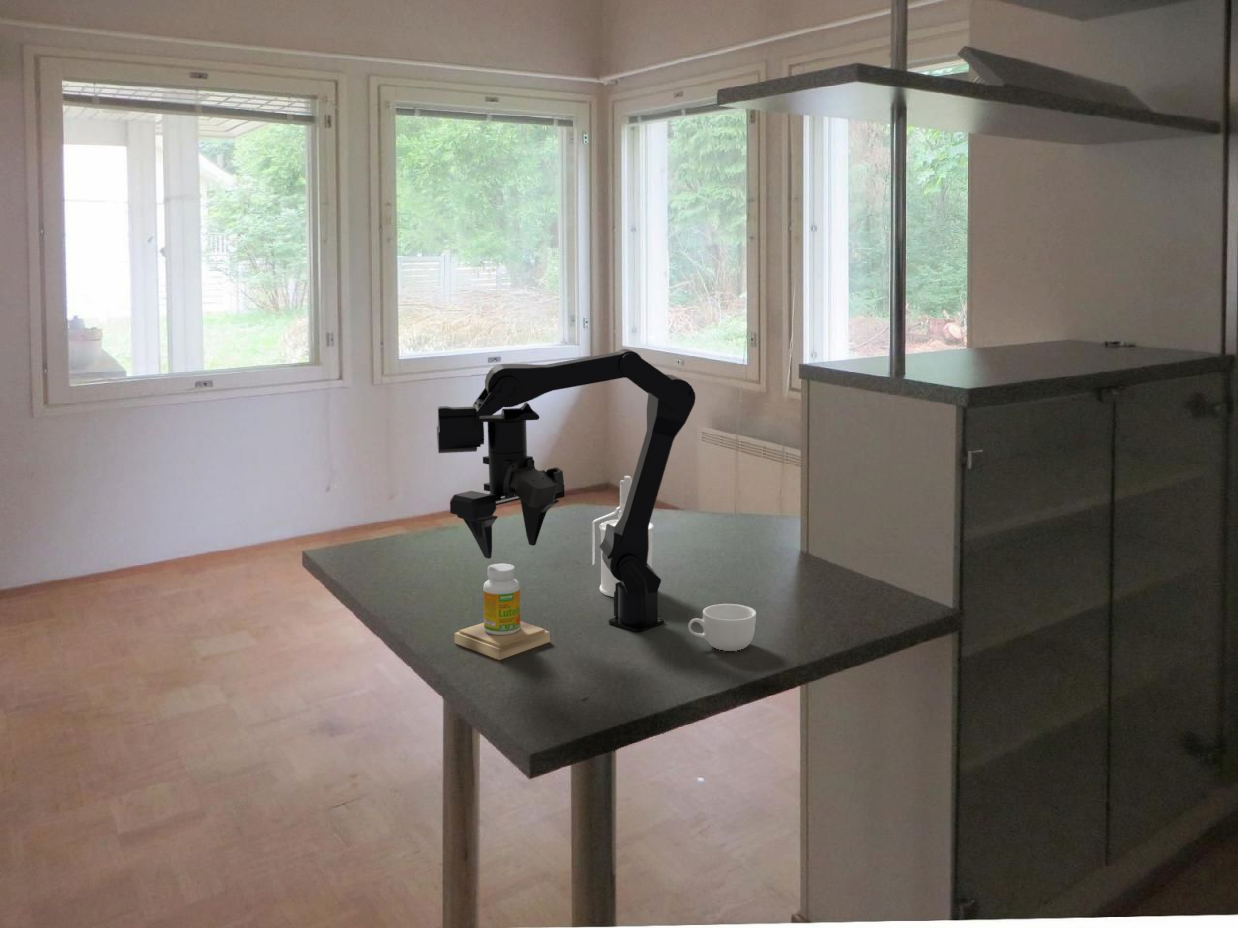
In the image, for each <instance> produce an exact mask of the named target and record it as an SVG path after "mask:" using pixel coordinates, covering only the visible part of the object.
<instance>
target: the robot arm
mask: <svg viewBox="0 0 1238 928" xmlns="http://www.w3.org/2000/svg"><path fill="white" fill-rule="evenodd" d="M623 378H625V379H628V380H629V381H630V382H631V383H633V384H634V385H635V386H637V387H638V388H640V389H641V390H642V391H644V392H645V393H647V394H648V395H647V402H646V403H647V405H646V430H645V431H646V433H645V436H644V439H643V443H642V446H641V448H640V454H639V457H638V460H637V463H636V467H635V471H634V474H633V476H632V484H631V487H630V491H629V494H628V498H627V501H626V505H625V508H624V511H623V515H622V517H621V519H620V520H619V521H618V523H617V524H616V525H615V527H614V526H612V525H610V524H607V525H606V530H605V537H604V540H603V542H602V543H601V542H600V545H599V549H600V551H601V550H602V551H603V552H602V558H603V561H604V563H605V564H606V566H607V567H608V569H609V570H610V572H611V573H612V575H613V576H614V577H615V578H616V579H617V580H619V581H620V582H618V583H615V591H614V597H613V616H614V617H612V618H609V619H608V624H611V625H614V626H616V627H621V628H624V629H627V630H631V631H632V632H638V633H639V632H643V631H645V630H648V629H650V628H653V627H656V626H658V625H661V624H664V623H665V618H663V617H660V616H659V588H660V586H661V582H662V579H661V578H660V576H659V575H658V574H657V573H656V572H655V570H654V569H653V567H652V568H651V567H650V566H649V564H648V563H647V559H648V550H649V534H648V528H649V523H651V519H652V515H653V512H654V508H655V506H656V501H657V498H658V495H659V492H660V488H661V485H662V482H663V478H664V475H665V470H666V468H667V464H668V460H669V457H670V453H671V450H672V447H673V443H674V440H675V439H676V437H677V435H678V434H679V433H680V431H681V430H682V428H683V427H684V426H685V424H686V422H687V420H688V419H689V417H690V414H691V412H692V410H693V408H694V406H695V403H696V399H697V398H696V392H695V391H694V388H693V386H692V385H691V384H690V383H689V382H688V381H686V380H684V379H681V378H679V377H678V376H675V375H673V374H665V373H664V372H662V371H661V370H659V369H657V367H655V366H654V365H652V364H650V363H649V362H648V361H647V360H645V359H644V358H642V356H641V355H640V354H639V353H638V352H636V351H633V350H631V349H628V348H622V349H620V350H617V351H614V352H611V353H610V352H609V353H602V354H597V355H593V356H591V355H590V356H586V357H581V358H575V359H571V360H565V361H559V362H553V363H548V364H532V363H531V364H529V363H501V364H497V365H495V366H493V367H492V368H491V369H490V370H489V371H488V373H487V374H486V377H485V380H484V388H483V390H482V391H481V392H480V394H479V395H478V397H477V398H476V399H475V401H474V402H473V404H472V406H446V405H445V406H442V405H441V406H438V407H437V425H436V438H437V439H436V440H437V451H438V452H437V453H438V454H450V453H451V454H453V453H471V452H472V453H473V452H477V451H478V448H481V447H482V446H481V445H485V427H484V426H485V424H484V423H486V424H487V447H488V448H487V449H488V453H487V454H488V455H485V456H482V464H485V465H488V475H489V476H488V477H489V478H488V481H489V482H485V483H483V491H485V492H489V493H484V492H480V491H475V490H469V491H464V492H460V493H456V494H453V495H452V497H451V498H450V501H449V510H450V512H449V513H450V514H452V515H456V517H457V518H458V519H462V520H463V521H464V522H465V524H466V526H467V528H468V529H469V530H470V532H471V535H472V536H473V538H474V539H475V542H476V543H477V545H478V547H479V549H480V552H481V553H482V555H483V557H484V558H485V559H489V560H490V559H491V558H492V554H493V553H492V552H493V525H494V523H495V522H496V520H497V519H498V517H499V516H497V515H494V514H495V512H496V510H497V506H499V505H503V504H508V503H512V502H516V501H520V504H521V511H522V515H523V523H524V528H525V534H526V538H527V542H528V545H529V546H536V545H537V542H538V538H539V535H540V533H541V529H542V525H543V522H544V520H545V518H546V515H547V512H548V511H549V510H550V509H551V508H552V507H553V506H555V505H557V504H558V503H559V501H560V500H559V499H562V498H564V497H566V496H565V483H564V482H565V480H564V473H563V472H564V471H563V470H562V469H560V468H559V467H556V466H555V467H551V468H547V470H545V469H543V470H538V469H536V467H535V460H534V457H533V456H530V455H528V449H527V448H528V447H527V446H528V445H527V442H528V441H527V439H528V437H527V421H538V420H540V415H539V414H538V413H537V412H536V411H535V410H533V409H532V407H531V405H530V403H528V402H530V401H532V400H535V399H537V398H539V397H541V396H543V395H544V394H548V393H550V392H553V391H558V390H563V389H570V388H575V387H580V386H586V385H591V384H592V385H593V384H596V383H601V382H602V383H603V382H607V381H614V380H618V379H623ZM521 404H523V405H522V406H521V407H517V406H519V405H521ZM515 407H516V408H515ZM500 410H501V413H499V414H498V413H497V412H499V411H500ZM496 413H497V414H496Z"/></svg>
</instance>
